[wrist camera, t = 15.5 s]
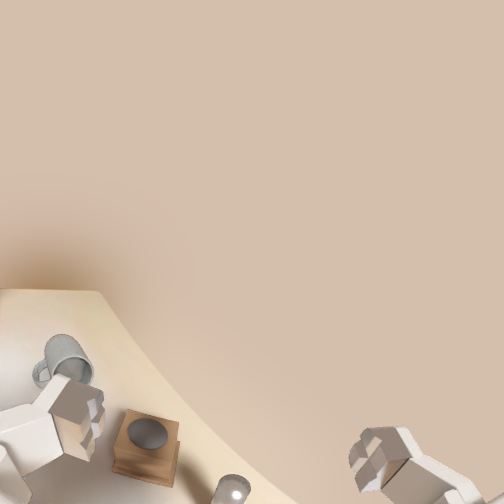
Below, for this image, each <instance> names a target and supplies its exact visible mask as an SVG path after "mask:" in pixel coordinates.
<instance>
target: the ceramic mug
mask: <svg viewBox="0 0 504 504" xmlns="http://www.w3.org/2000/svg"><path fill="white" fill-rule="evenodd" d="M47 366H48V369H49V373H50V376H51V379H52V378H53V376H54V375H56V374H58V373H59V374H61V375H63V376H66V377H68V378H71V379H74V380H76V381H78V382H81V383H83V384H86V385H90V383H91V381H92V379H93V375H94V371H93V366H92V364H91V362H90V361H89V359H88V358H87V356H86V354H85V353H84V351H83V350H82V348H81V346H80V344H79V343H78V342H77V341H76V340H75V339H74V338H73V337H71V336H69V335H66V334H59V335H55V336H53V337H52V338H51V339H50V340H49V341H48V342H47V344H46V346H45V359H44V360H42V361H41V362H39V363H38V364H37V365H36V366H35V368H34V370H33V373H32V377H33V380H34V382H35V383H36V384H37V386H38V387H40V388H42V389H44V388H45V387H46V385H47V384H48V383H49V381H50V380H51V379H49V380H47V381H43V382H39V373H40V372H41V371H42V370H43V369H44V368H45V367H47Z"/></svg>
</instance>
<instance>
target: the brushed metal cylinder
mask: <svg viewBox="0 0 504 504" xmlns="http://www.w3.org/2000/svg"><path fill="white" fill-rule="evenodd" d="M250 491H251V486H250V483H249V482H248V481H247V480H246V479H245V478H244V477H242V476H239V475H235V474H230V475H226V476H224V477H222V478H221V479H220V481H219V483H218V486H217V488H216V491H215V494H214V496H213V499H212V501H211V504H243V503H244V502H245V500H246V498H247V496H248V495H249V493H250Z"/></svg>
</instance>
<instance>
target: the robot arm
mask: <svg viewBox="0 0 504 504" xmlns="http://www.w3.org/2000/svg"><path fill="white" fill-rule="evenodd" d="M103 401H104V395H103V391H101V390H99V389H96V388H94V387H91V386H89V385H86V384H83V383H81V382H78V381H76V380H74V379H71V378H68V377H66V376H63V375H61V374H59V373H58V374H56V375H54V376H53V378H52V379H51V380H50V381H49V383H48V384H47V385H46V387H45V388H44V389H43V390H42V392H41V393H40V394H39V396H38V397H37V398H36V400H35V401H34V402H33V404H32V405H31V404H29V403H26V404H23V405H20V406H17V407H13V408H10V409H7V410H4V411H1V412H0V504H28V503H29V501H30V498H31V496H32V492H31V490H30V489H29V487H28V486H27V484H26V483H25V481H24V479H23V478H22V477H24V476H26V475H28V474H29V473H31V472H33V471H35V470H37V469H38V468H40V467H42V466H44V465H45V464H47V463H49V462H51V461H52V460H54V459H56V458H57V457H59V456H61V455H62V454H63V452H64V453H66V454H69V455H71V456H74V457H76V458H79V459H82V460H84V461H87V462H89V461H90V459H91V456H92V454H93V452H94V449H95V447H96V446H95V441H94V439H96V438H98V437H100V436H101V433H102V431H103V427H104V423H105V409H104V408H103V407H102V403H103ZM360 438H361V440H360V441H358V442H357V443H355V444H354V445H353V447H352V448H351V450H350V454H349V464H350V467H351V469H352V470H354V471H355V472H356V473H357V474H356V476H355V481H356V483H357V486H358V489H359V491H360V492H368V491H375V490H381V492H382V493H384V494H385V495H386V496H387V497H388V498H389V499H390V500H391V501H392V502H393V503H395V504H504V493H502V494H501V495H499V496H497V497H496V498H494V499H493V500H491V501H489V502H487V503H485V502H484V500H483V498H482V497H481V495H480V493H479V492H478V490H477V489H476V487H475V486H474V484H473V482H472V481H471V480H469V479H467V478H465V477H464V476H462V475H460V474H458V473H457V472H455V471H453V470H451V469H450V468H448V467H446V466H444V465H443V464H441V463H439V462H438V461H436V460H434V459H433V458H431V457H429V456H428V455H423V453H422V452H421V450H420V448H419V447H418V445H417V443H416V442H415V440H414V438H413V437H412V435H411V434H410V432H409V430H408V429H407V427H405V426H404V425H402V426H392V427H377V428H367V429H365V430H364V431H363V432H362V433H361V435H360Z"/></svg>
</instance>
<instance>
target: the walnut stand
mask: <svg viewBox="0 0 504 504" xmlns="http://www.w3.org/2000/svg"><path fill="white" fill-rule="evenodd" d="M178 427H179V422H176V421H171V420H167V419H163V418H159V417H155V416H151V415H147V414H143V413H140V412H136V411H133V410H129V409H128V411H127V413H126V416H125V418H124V420H123V423H122V425H121V428H120V431H119V433H118V436H117V438H116V441H115V443H114V446H113V447H114V454H115V460H114V463H113V466H112V472H115V473H118V474H122V475H125V476H128V477H132V478H135V479H139V480H142V481H146V482H150V483H154V484H158V485H163V486H167V487H173V481H174V475H175V469H176V463H177V457H178V451H179V446H180V441H177V434H178Z"/></svg>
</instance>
